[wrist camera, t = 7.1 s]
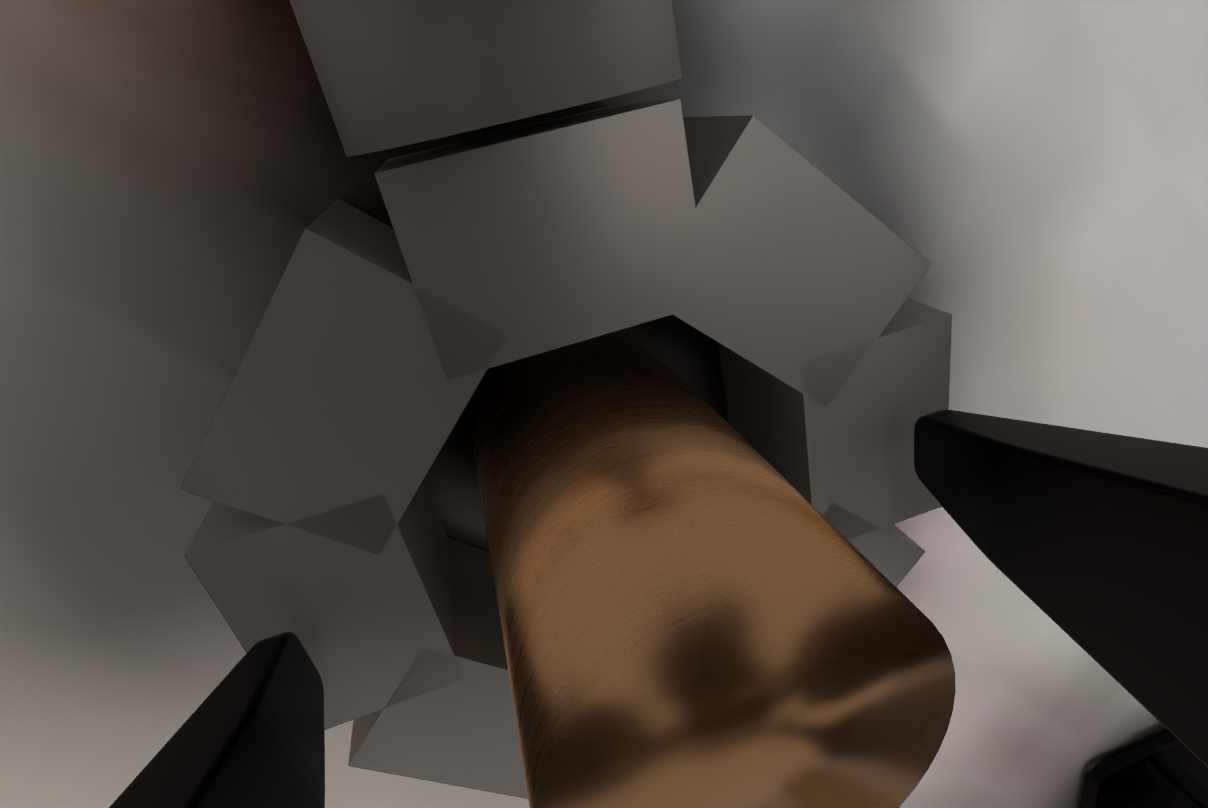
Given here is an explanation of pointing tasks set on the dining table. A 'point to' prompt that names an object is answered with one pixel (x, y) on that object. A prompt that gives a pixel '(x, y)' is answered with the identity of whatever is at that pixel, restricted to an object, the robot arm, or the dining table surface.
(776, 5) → the dining table surface
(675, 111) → the valve fitting
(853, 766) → the pipe stub
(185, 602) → the dining table surface
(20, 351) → the dining table surface
